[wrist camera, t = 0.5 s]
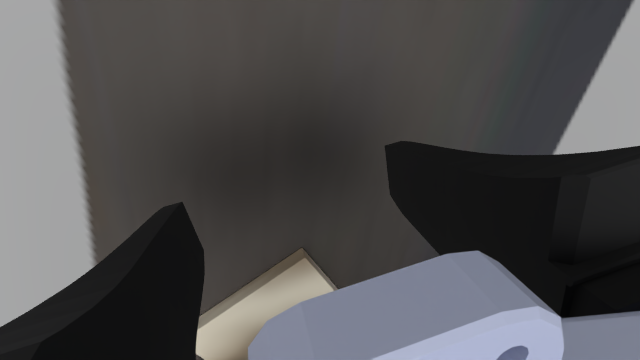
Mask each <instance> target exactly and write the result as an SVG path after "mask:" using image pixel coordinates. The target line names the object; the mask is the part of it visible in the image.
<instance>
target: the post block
mask: <svg viewBox="0 0 640 360" xmlns="http://www.w3.org/2000/svg"><path fill="white" fill-rule="evenodd" d="M336 290H338V289H337V287H336V286H335V285H334V284H333V283H332V282H331V281H330V279H329V278H328V277H327V276H326V275H325V274H324V272H323V271H322V270H321V269H320V268H319V267H318V266H317V264H316V263H315V262H314V261H313V260H312V259H311V257H310V256H309V255H308V254H307V253H306V252H305V251H304V249H303V248H300V249H299V250H297V251H296V252H294V253H293V254H291V255H290V256H288V257H287V258H286V259H284V260H283V261H281V262H280V263H278V264H277V265H275V266H274V267H272V268H271V269H269V270H268V271H266V272H265V273H263V274H262V275H260V276H259V277H257V278H256V279H254V280H253V281H251V282H250V283H248V284H247V285H245V286H244V287H243V288H241V289H240V290H238V291H237V292H235V293H234V294H232V295H231V296H229V297H228V298H226V299H225V300H223V301H222V302H220V303H219V304H217V305H216V306H214V307H213V308H211V309H210V310H208V311H207V312H205V313H204V314H202V315H201V316H200V317H199V322H198V330H197V340H196V354H197V355H199V356H200V357H202V358H203V359H204V360H248V347H249V345H250V344H251V342H252V341H253V340H254V338H255V337H256V335H257V334H258V333H259V331H260V330H261V328H262V327H263V326H264V324H265V323H266V321H268V320H269V319H271V318H273V317H275V316H277V315H278V314H280V313H282V312H284V311H285V310H287V309H289V308H291V307H293V306H294V305H296V304H298V303H300V302H302V301H305V300H308V299H311V298H314V297H317V296H320V295H323V294H326V293H329V292H332V291H336Z"/></svg>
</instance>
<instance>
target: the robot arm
mask: <svg viewBox="0 0 640 360" xmlns="http://www.w3.org/2000/svg"><path fill="white" fill-rule="evenodd" d="M385 152H386V161H387V171H388V180H389V189H390V195H391V197H392V198H393V200H394V202H395V203H396V205H397V206H398V208H399V209H400V211H401V212H402V214H403V215H404V216H405V217H406V218H407V219H408V220H409V222H410V223H411V224H412V225H413V226H414V227H415V228H416V229H417V230H418V232H419V233H420V234H421V235H422V236H423V237H424V238H425V239H426V240H427V241H428V242H429V244H430V245H431V246H432V247H433V248H434V249H435V250H436V251H437V252H438V253H439V254H440V256H438V257H435V258H432V259H429V260H426V261H423V262H420V263H417V264H414V265H411V266H408V267H405V268H402V269H399V270H396V271H393V272H390V273H387V274H384V275H381V276H378V277H375V278H372V279H369V280H366V281H363V282H360V283H357V284H354V285H351V286H348V287H345V288H342V289H339V290H336V291H332V292H329V293H326V294H323V295H320V296H317V297H314V298H311V299H308V300H305V301H302V302H300V303H298V304H296V305H294V306H293V307H291V308H289V309H287V310H285V311H284V312H282V313H280V314H278V315H277V316H275V317H273V318H271V319H269V320H268V321H266V323H265V324H264V326H263V327H262V328H261V330H260V331H259V333H258V334H257V335H256V337H255V338H254V340H253V341H252V342H251V344H250V345H249V347H248V360H640V146H635V147H628V148H621V149H613V150H606V151H598V152H587V153H575V154H562V155H501V154H486V153H477V152H469V151H462V150H455V149H449V148H444V147H438V146H433V145H427V144H422V143H416V142H408V141H400V142H396V143H393V144H389V145H385ZM203 284H204V250H203V247H202V245H201V243H200V241H199V238H198V236H197V234H196V232H195V229H194V227H193V225H192V223H191V220H190V218H189V216H188V213H187V211H186V209H185V207H184V204H183V202H180V203H176V204H173V205H169V206H166V207H163V208H162V209H160V210H159V211H157V212H156V213H155V214H154V215H153V216H152V217H151V218H149V219H148V220H147V221H146V222H145V223H144V224H143V225H142V226H141V227H140V228H139V229H138V230H136V231H135V232H134V233H133V234H132V235H131V236H130V237H129V238H128V239H127V240H126V241H124V242H123V243H122V244H121V245H120V246H119V247H117V248H116V249H115V250H114V251H113V252H112V253H110V254H109V255H108V256H107V257H106V258H105V259H104V260H102V261H101V262H100V263H99V264H97V265H96V266H95V267H93V268H92V269H91V270H90V271H88V272H87V273H86V274H85V275H83V276H81V277H80V278H79V279H77V280H76V281H75V282H73V283H72V284H70V285H69V286H67V287H66V288H64V289H63V290H61V291H60V292H58V293H57V294H55V295H53V296H52V297H50V298H49V299H47V300H45V301H44V302H42V303H41V304H39V305H38V306H36V307H34V308H33V309H31V310H30V311H28V312H26V313H25V314H23V315H21V316H19V317H18V318H16V319H14V320H12V321H11V322H9V323H7V324H5V325H4V326H2V327H0V360H196V340H197V330H198V322H199V315H200V307H201V300H202V292H203Z"/></svg>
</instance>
